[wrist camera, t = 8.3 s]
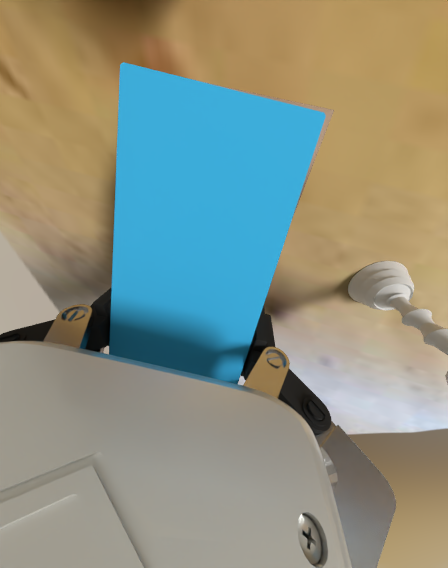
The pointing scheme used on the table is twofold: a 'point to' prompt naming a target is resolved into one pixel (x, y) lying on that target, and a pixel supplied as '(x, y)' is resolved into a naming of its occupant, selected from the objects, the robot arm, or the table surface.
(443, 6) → the table surface
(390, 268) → the chalice
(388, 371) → the table surface
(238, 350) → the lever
